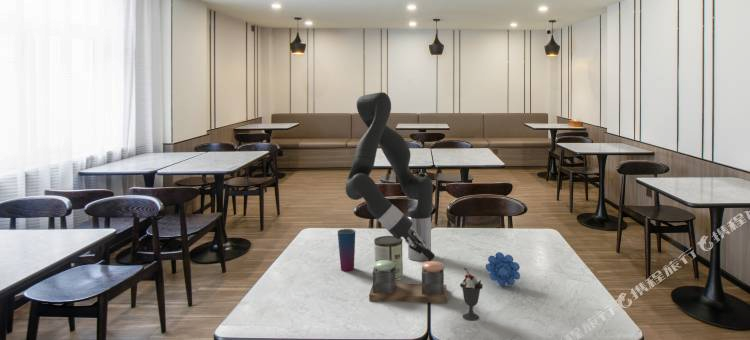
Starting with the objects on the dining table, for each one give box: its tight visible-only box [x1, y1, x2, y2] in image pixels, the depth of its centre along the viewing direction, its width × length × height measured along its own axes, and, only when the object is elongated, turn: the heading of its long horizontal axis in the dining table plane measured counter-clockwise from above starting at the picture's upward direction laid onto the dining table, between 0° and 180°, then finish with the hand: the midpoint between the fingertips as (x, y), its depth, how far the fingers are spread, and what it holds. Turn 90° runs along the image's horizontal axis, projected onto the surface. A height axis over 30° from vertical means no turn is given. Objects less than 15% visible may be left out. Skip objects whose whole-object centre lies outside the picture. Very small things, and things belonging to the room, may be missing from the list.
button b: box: [422, 260, 444, 273], centre depth 172 cm, size 6×6×8 cm
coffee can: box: [373, 235, 404, 282], centre depth 191 cm, size 10×10×14 cm
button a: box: [374, 260, 394, 272], centre depth 174 cm, size 6×6×8 cm
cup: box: [337, 228, 356, 272], centre depth 200 cm, size 7×7×15 cm
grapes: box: [485, 251, 521, 287], centre depth 179 cm, size 12×7×12 cm, turn 80°
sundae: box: [459, 267, 483, 322], centre depth 156 cm, size 7×7×15 cm
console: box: [368, 265, 448, 304], centre depth 174 cm, size 25×11×9 cm, turn 83°
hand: (432, 258), depth 171 cm, fingers closed
